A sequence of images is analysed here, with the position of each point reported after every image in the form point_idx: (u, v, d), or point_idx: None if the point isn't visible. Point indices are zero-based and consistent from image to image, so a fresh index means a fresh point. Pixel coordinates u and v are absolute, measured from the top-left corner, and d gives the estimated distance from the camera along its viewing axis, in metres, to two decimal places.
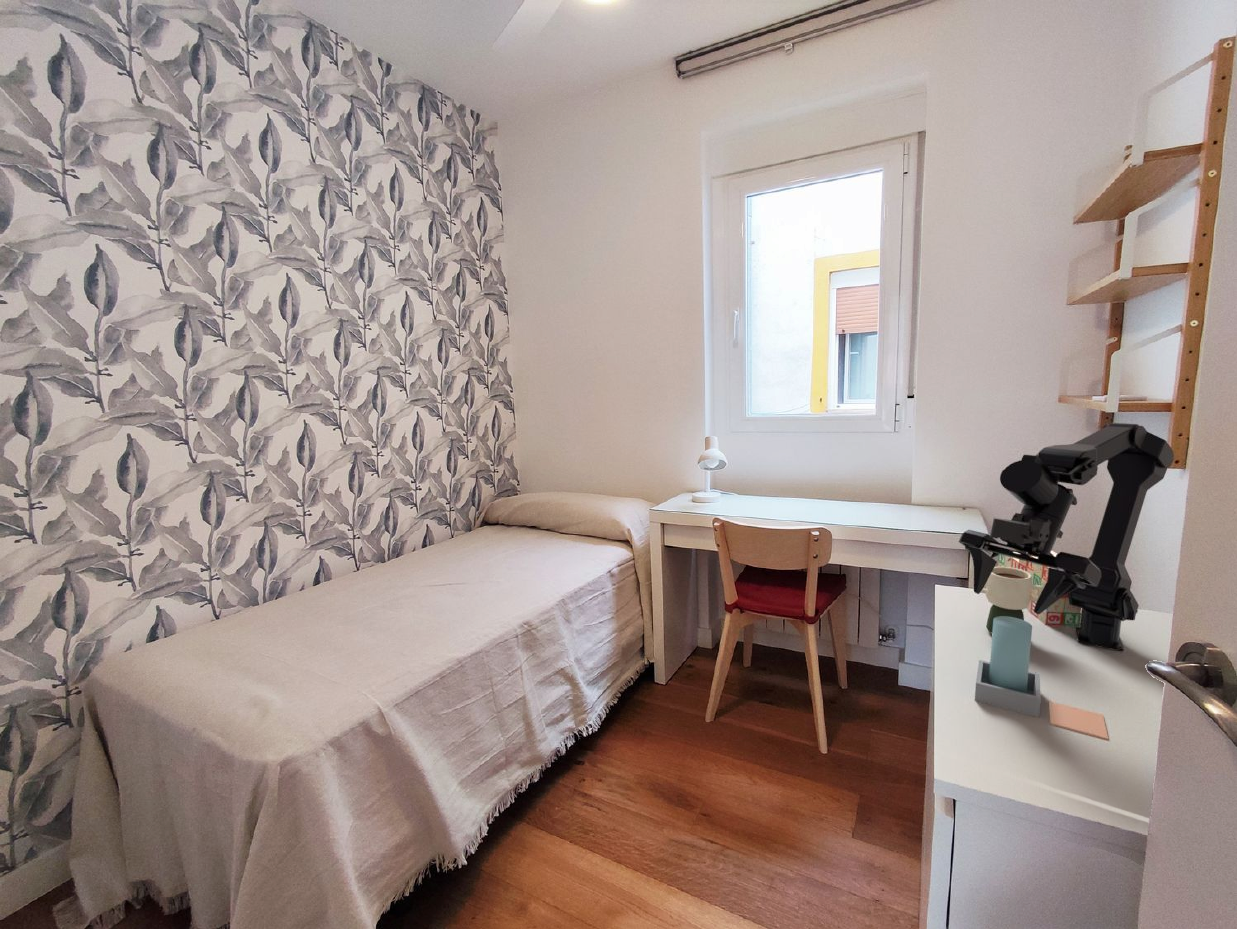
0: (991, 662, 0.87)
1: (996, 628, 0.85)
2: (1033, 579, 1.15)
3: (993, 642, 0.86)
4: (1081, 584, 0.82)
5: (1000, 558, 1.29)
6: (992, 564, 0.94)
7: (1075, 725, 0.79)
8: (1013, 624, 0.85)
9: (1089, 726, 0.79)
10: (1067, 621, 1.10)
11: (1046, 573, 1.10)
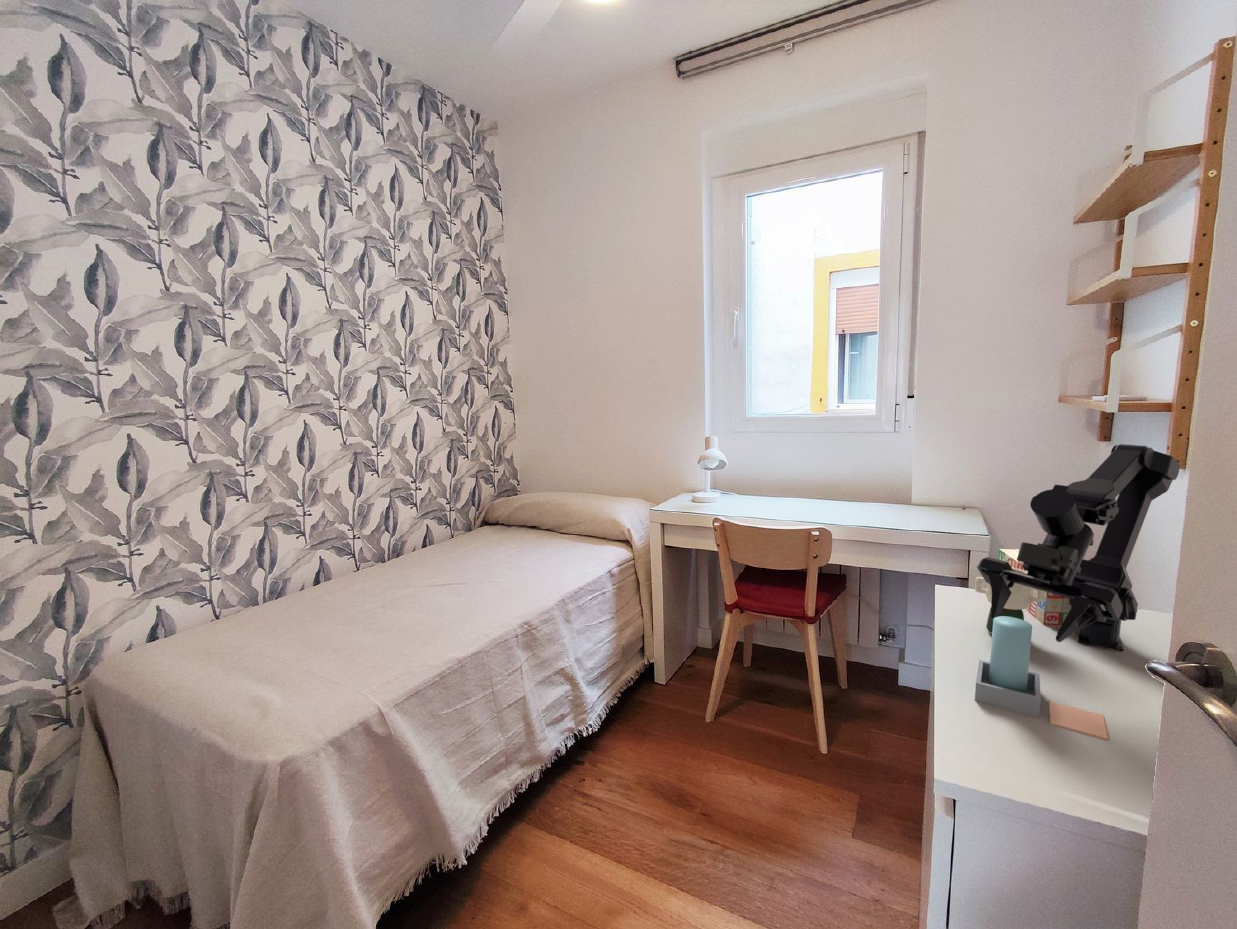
0: (991, 662, 0.87)
1: (996, 628, 0.85)
2: None
3: (993, 642, 0.86)
4: (1103, 616, 0.83)
5: (1000, 558, 1.29)
6: (1008, 594, 0.94)
7: (1075, 725, 0.79)
8: (1013, 624, 0.85)
9: (1089, 726, 0.79)
10: None
11: None
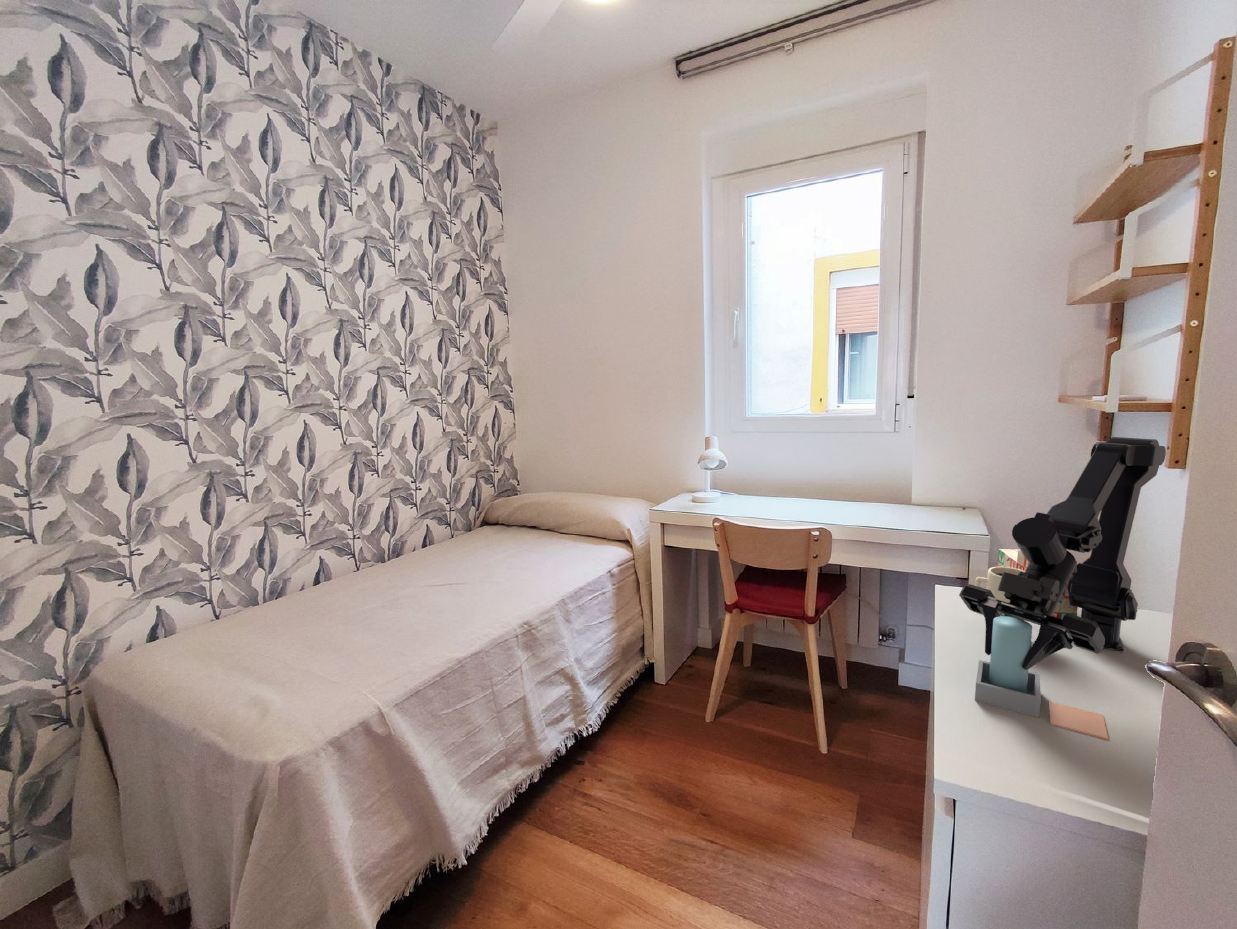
0: (991, 662, 0.87)
1: (996, 628, 0.85)
2: None
3: (993, 642, 0.86)
4: (1070, 644, 0.82)
5: (999, 558, 1.29)
6: None
7: (1075, 725, 0.79)
8: (1013, 624, 0.85)
9: (1089, 726, 0.79)
10: None
11: None
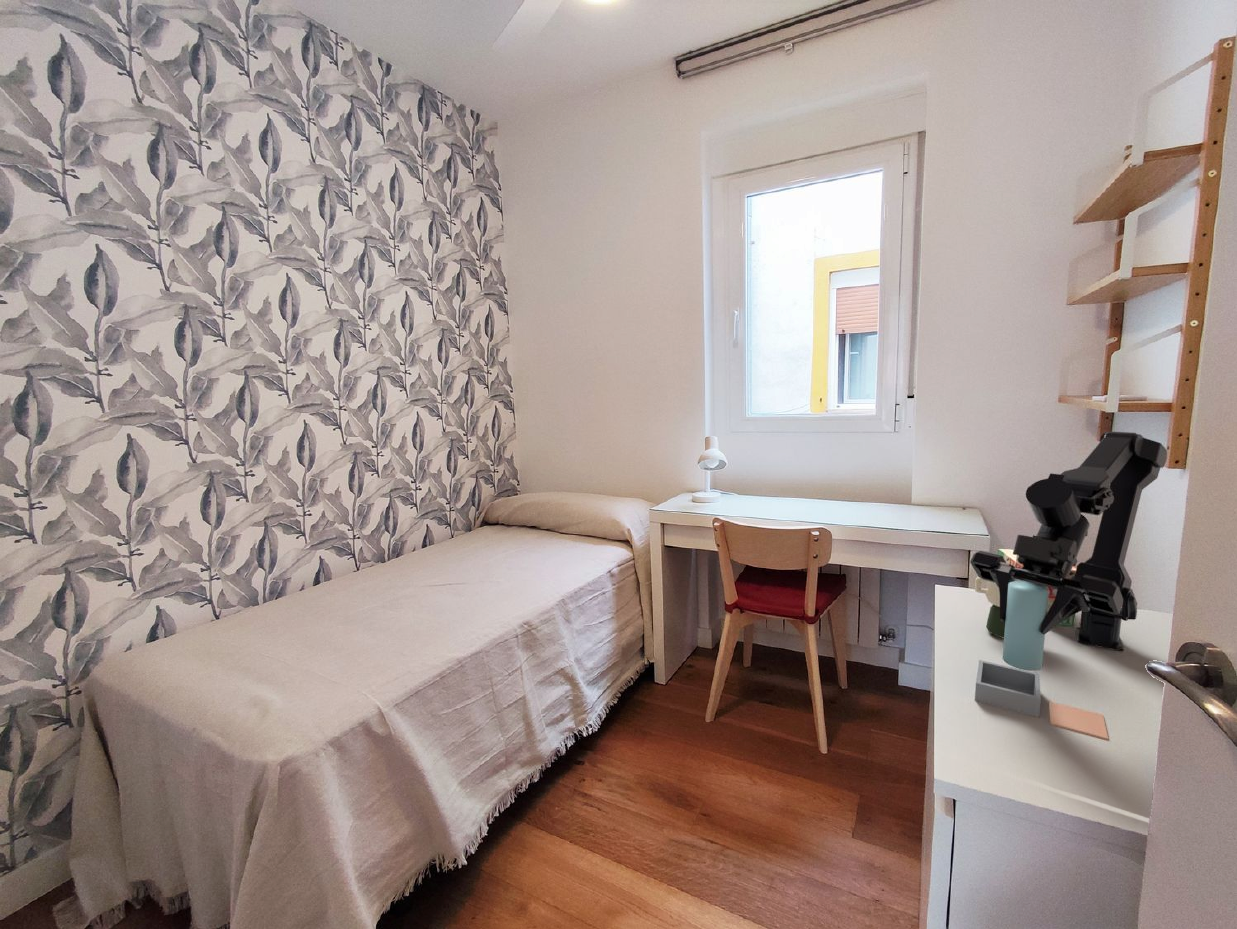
0: (1006, 628, 0.85)
1: (1012, 592, 0.83)
2: None
3: (1008, 607, 0.84)
4: (1087, 606, 0.80)
5: None
6: None
7: (1075, 725, 0.79)
8: (1029, 588, 0.82)
9: (1089, 726, 0.79)
10: None
11: None
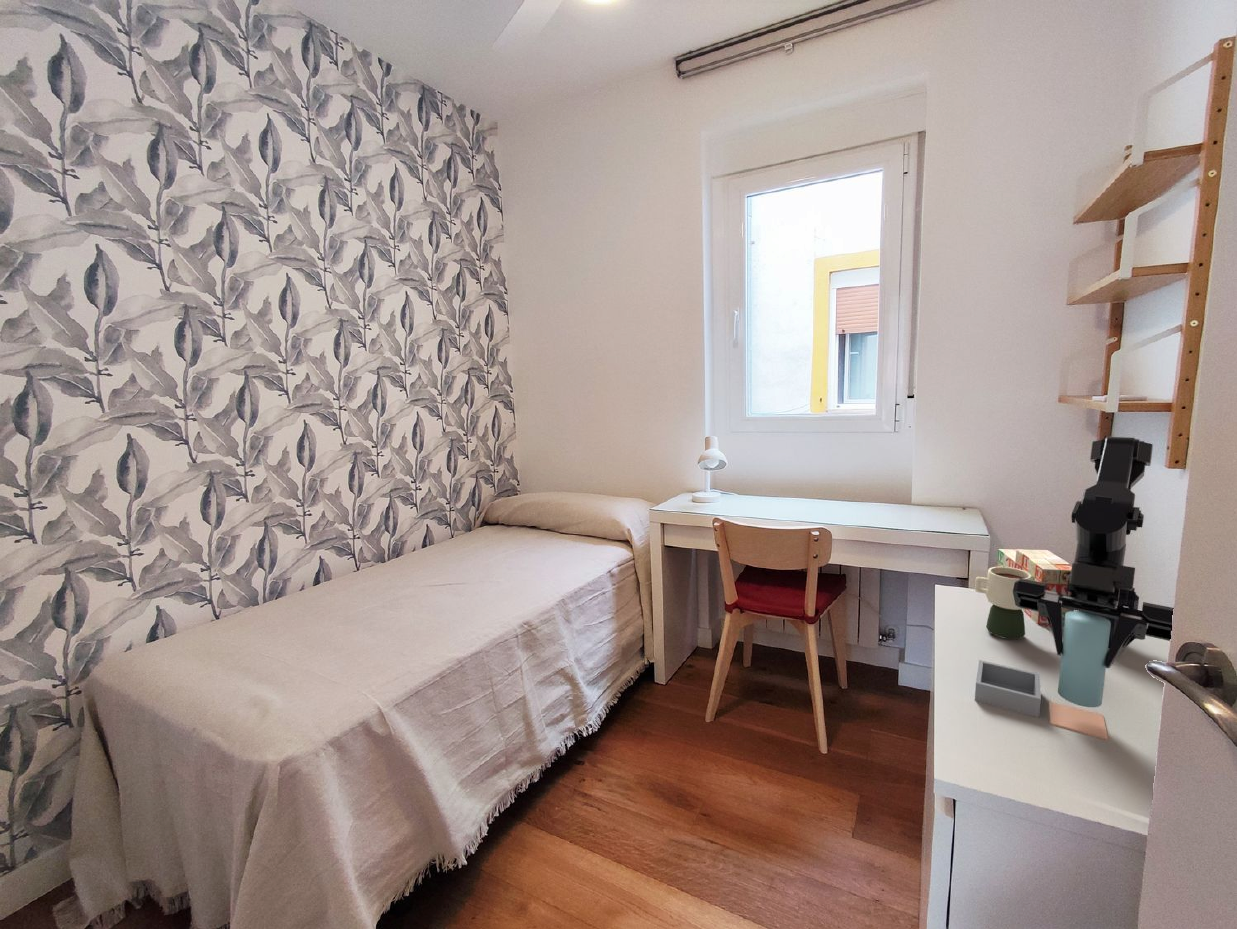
0: (1065, 663, 0.79)
1: (1074, 625, 0.78)
2: None
3: (1069, 641, 0.79)
4: (1145, 634, 0.77)
5: (999, 558, 1.29)
6: (1062, 621, 0.84)
7: (1075, 725, 0.79)
8: (1090, 620, 0.78)
9: (1089, 726, 0.79)
10: None
11: (1038, 573, 1.10)
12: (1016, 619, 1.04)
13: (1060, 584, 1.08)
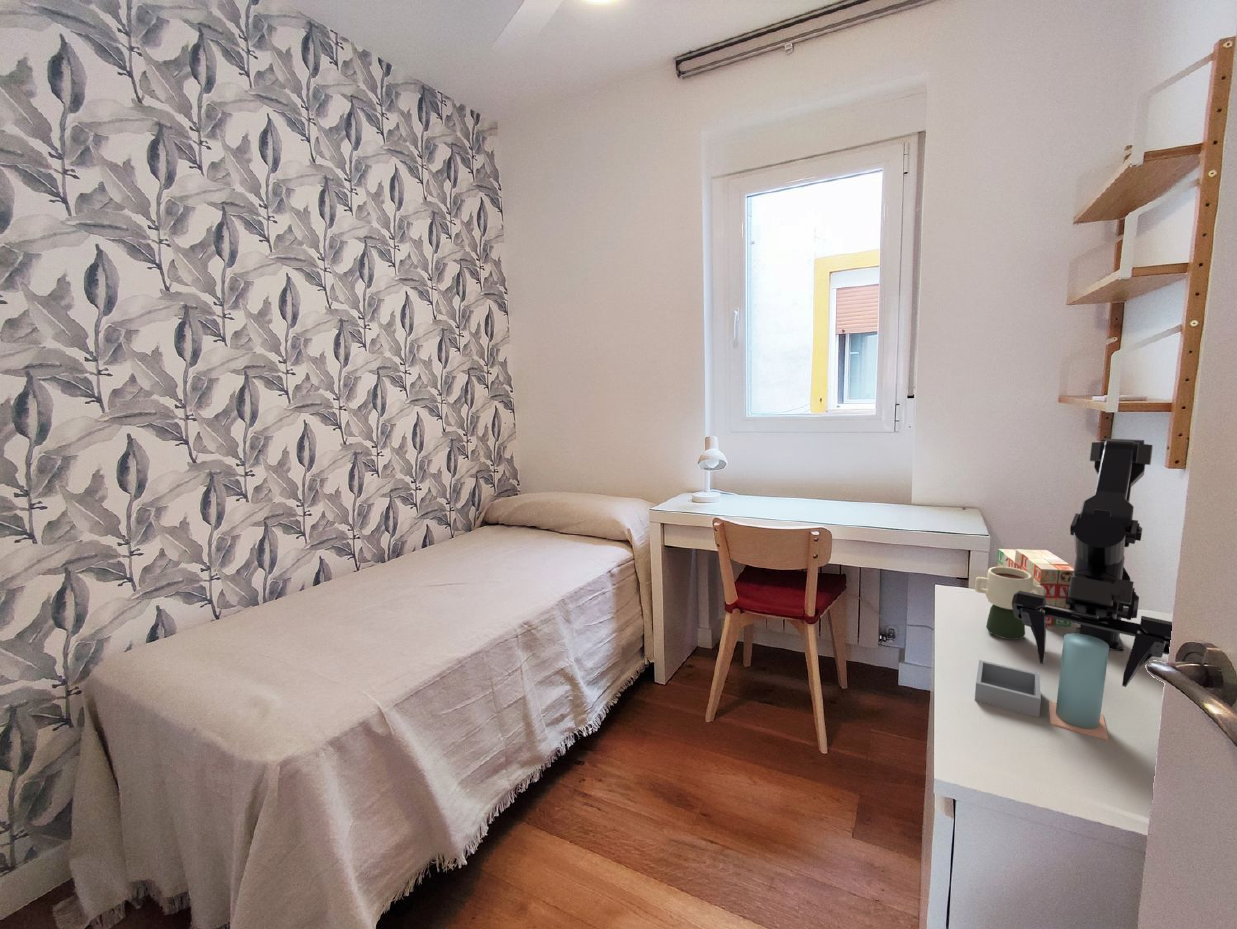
0: (1063, 686, 0.80)
1: (1073, 649, 0.78)
2: None
3: (1067, 664, 0.79)
4: (1162, 652, 0.76)
5: (999, 558, 1.29)
6: (1045, 630, 0.85)
7: None
8: (1088, 643, 0.78)
9: None
10: (1058, 621, 1.10)
11: (1037, 573, 1.11)
12: (1016, 619, 1.04)
13: (1059, 584, 1.08)
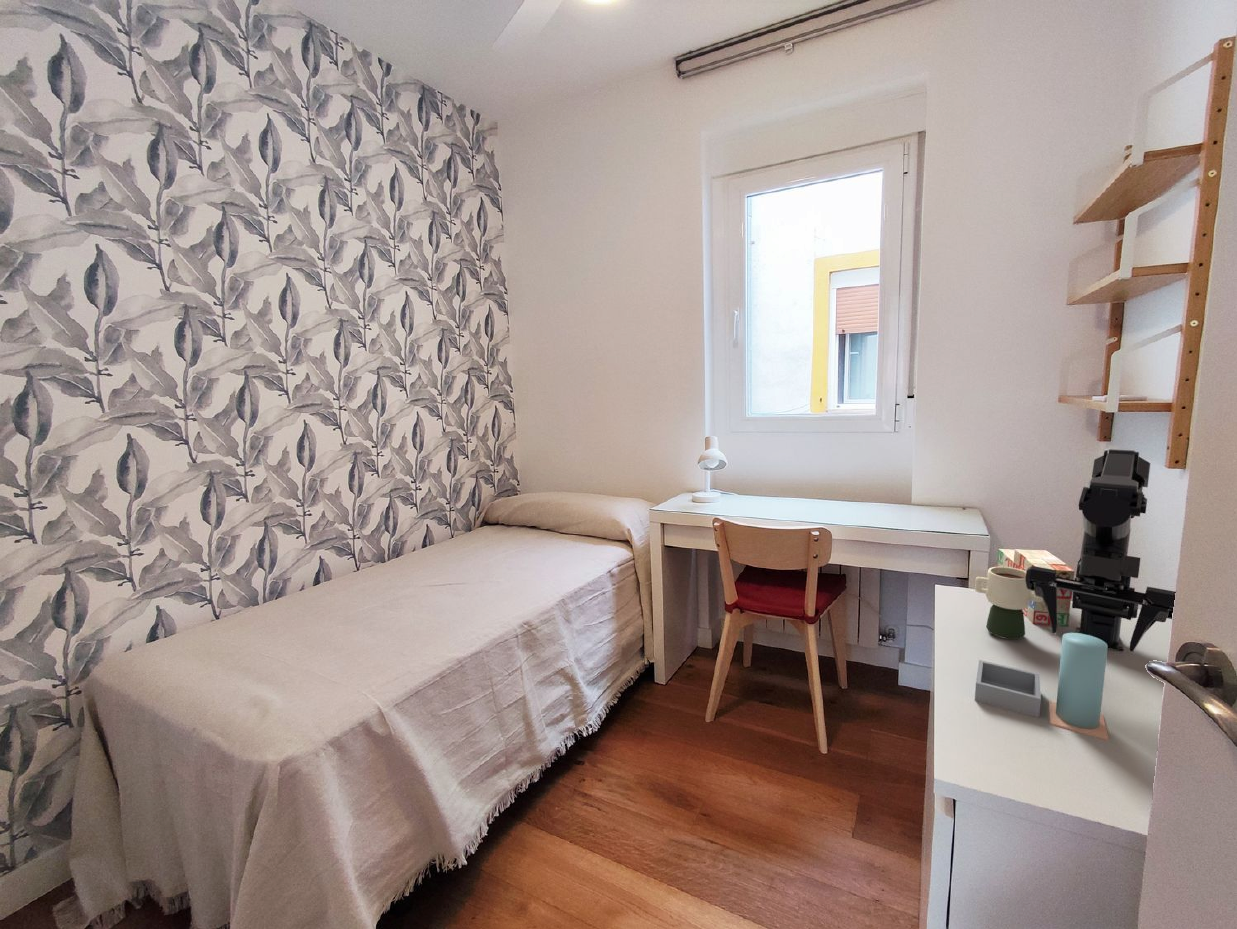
0: (1063, 685, 0.80)
1: (1071, 648, 0.78)
2: None
3: (1066, 663, 0.79)
4: (1166, 618, 0.82)
5: (999, 558, 1.29)
6: None
7: None
8: (1087, 642, 0.78)
9: None
10: None
11: None
12: (1016, 619, 1.04)
13: None
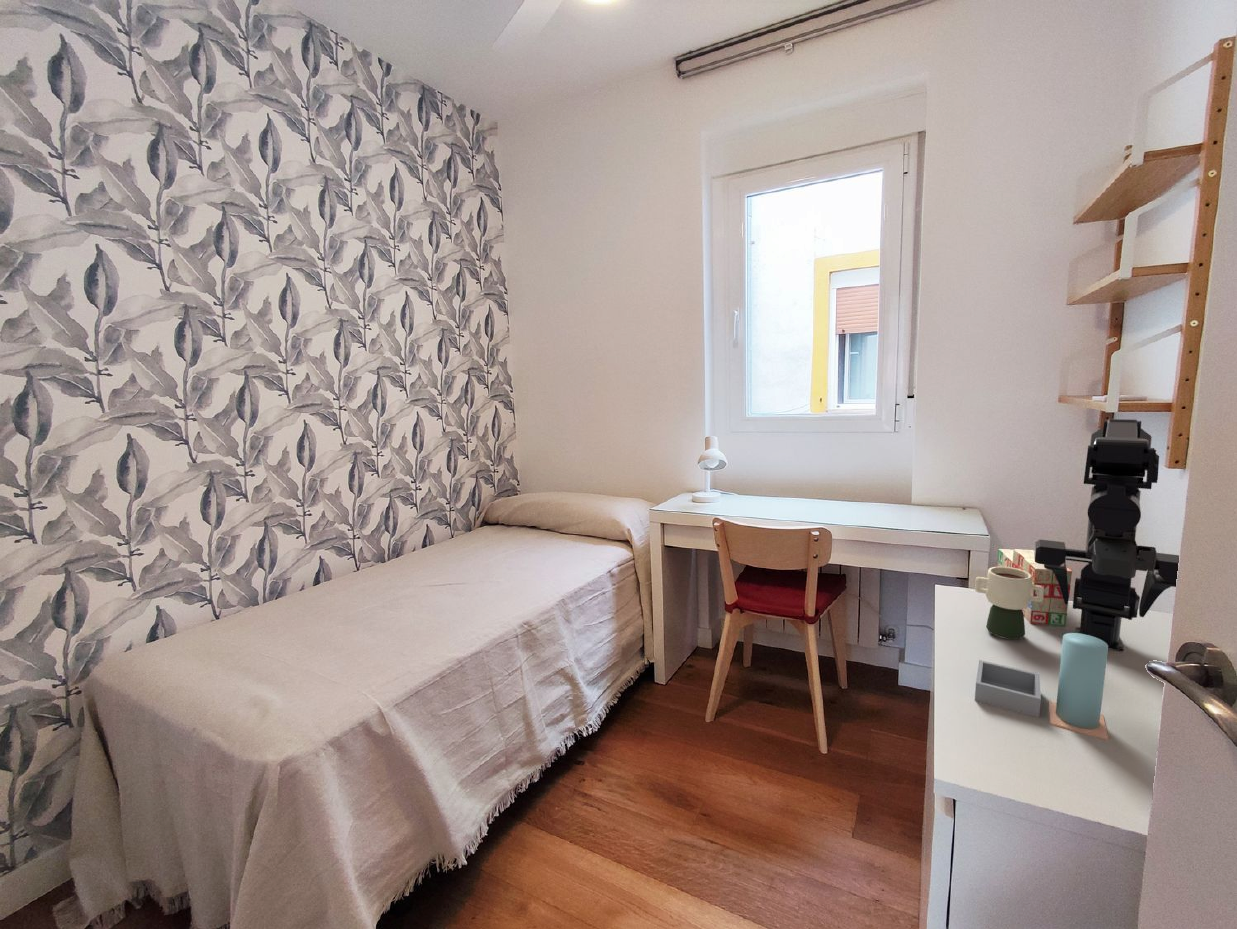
0: (1063, 685, 0.80)
1: (1072, 648, 0.78)
2: None
3: (1066, 664, 0.79)
4: None
5: (999, 558, 1.29)
6: None
7: None
8: (1087, 642, 0.78)
9: None
10: (1053, 621, 1.10)
11: (1032, 573, 1.11)
12: (1016, 619, 1.04)
13: (1053, 584, 1.09)
